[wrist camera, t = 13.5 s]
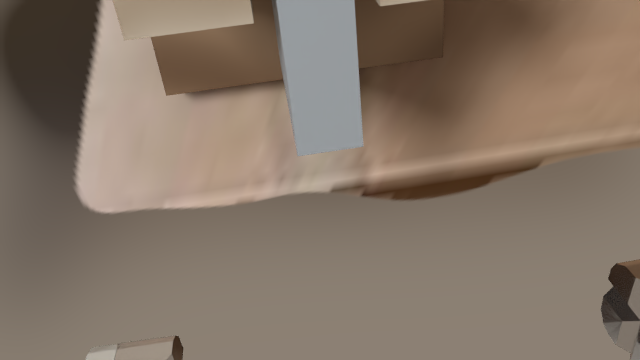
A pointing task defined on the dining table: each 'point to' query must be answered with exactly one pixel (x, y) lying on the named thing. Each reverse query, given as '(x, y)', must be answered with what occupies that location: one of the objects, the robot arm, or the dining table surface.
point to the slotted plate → (320, 72)
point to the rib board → (266, 38)
